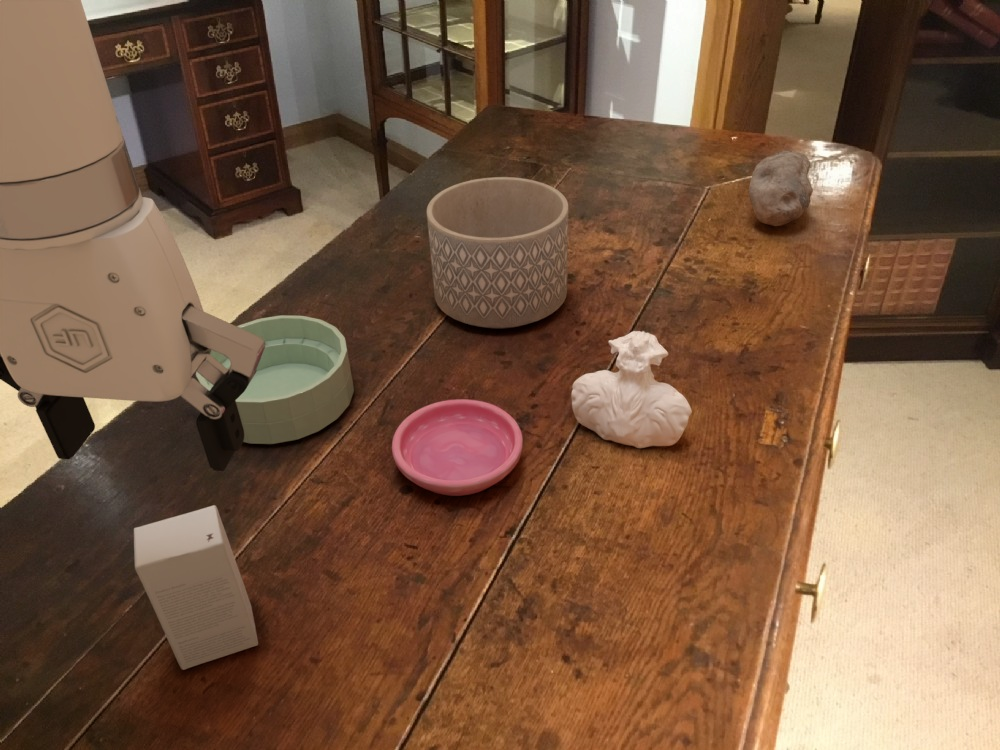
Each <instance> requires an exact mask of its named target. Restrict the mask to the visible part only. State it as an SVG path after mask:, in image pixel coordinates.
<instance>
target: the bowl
mask: <svg viewBox="0 0 1000 750" xmlns="http://www.w3.org/2000/svg"><path fill="white" fill-rule="evenodd" d="M236 326H237V327H239V328H241V329H244V330H246V331H248V332H250V333H252V334H255V335H257V336H259V337H261V338H262V339H263V340H264V342H265V348H264V351H263V354H262V356H261V359H260V362H259V364H258V366H257V369H256V373H255V375H254V377H253V378H252V380H251V381H250V383H249V385H248V386H247V388H246V390H245V391H244V392H243V393H242V394H241V395H240V396H239V397H238V398H237V399H236V400H235V401H236V404H237V408H238V411H239V415H240V418H241V422H242V426H243V429H244V441H243V443H245V444H246V443H247V444H253V445H254V444H256V445H275V444H280V443H281V444H282V443H286V442H292V441H296V440H300V439H302V438H305V437H308V436H310V435H312V434H313V435H314V434H315V433H318V432H320V431H322V430H323V429H324V428H327V426H329V425H331V424H332V423H333V422H334V421H336V420H337V419H339V418H340V416H341V415H342V414H343V413H344V412H345V411H346V410H347V408H348V407H349V406H350V405H351V401H352V398H353V395H354V392H355V387H354V382H353V375H352V370H351V364H350V359H349V353H348V347H347V340H346V338H345V336H344V335H343V334H342V332H341V331H340V330H339V329H338V328H337V327H336V326H334V325H333V324H330V323H329V322H327V321H325V320H323V319H320V318H315V317H310V316H306V315H289V314H288V315H285V314H284V315H283V314H282V315H275V316H274V315H273V316H269V317H262V318H261V317H260V318H257V319H254V320H251V321H247V322H245V323H242V324H239V325H236ZM210 355H211V356H212V357H214V358H215V359H216V360H217V361H218V362H220V363H221V364H222V365H223V366H224V367H226V368H227V369H228V370H229V369H230V366H231V362H230V360H229V359H228V358H227V357H226V356H224V355H222V354H220V353H218V352H216V351H213V350H211V353H210ZM195 377H196V380H197V381H198V382H199V383H200V384H202V385H203V386H204V387H205V388H207V389H208V390H209V391H210V390H211V388H212V387H213V386H214V385H212V384H211V383H210V382H209V381H208V380H206V379H205V378H204V377H203V376H201V375H200V374H199V373H198V372H195Z"/></svg>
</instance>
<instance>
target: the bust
mask: <svg viewBox="0 0 1000 750" xmlns="http://www.w3.org/2000/svg"><path fill="white" fill-rule="evenodd" d="M607 344H608V345H609V347H611V349H610V354H612V355H613V354H615V353H618V356H617V357H616V361H615V367H617V368H618V371H616V372H613V371H611V370H608V369H602V370H598V371H594V372H589V373H585V374H583V375H581V376H580V377H578V378H577V379H576V380H575V381H574V382H573V383H572V386H571V387H572V390H571V393H570V395H571V396H570V398H571V408H572V412H573V415H574V417H575V419H576V421H577V422H578V423H579V424H580V425H582V426H583V427H585V428H587V429H589V430H591V431H592V432H594V433H596V434H597V435H598V436H599V437H600V438H601V439H602V440H605V441H611V442H614V443H618V444H622V445H625V446H632V447H634V448H637V449H644V448H649V447H670V446H673V445H675V444H676V443H678V441H679V440H680V438H681V437H682V436H683V434H684V431H685V430H686V428H687V426H688V424H689V419H690V416H691V415H692V413H693V411H692V407H691V405H690V403H689V401H688V399H687V398H686V397H685V396H684V395H683V394H682V393H681V392H680V391H678V390H677V389H676V388H675V387H674V386H672V385H671V384H669V383H667V382H661V381H657V380H656V379H655V374H654V373H653V371H652V367H651V365H655V366H657V367H659V366H661V363H662V360H663V359H665V358H667V357H668V356H669V352H668V351H667V349H665V347H664V346H663V345H661V343H659V341H658V338H657V336H656V335H654V334H652V333H650V332H645V330H642V331H640V330H633V331H631V332H629V333H627V334H626V335H624V336H619V337H617V338H615V339H610V340H608V342H607Z"/></svg>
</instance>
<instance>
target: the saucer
mask: <svg viewBox="0 0 1000 750" xmlns="http://www.w3.org/2000/svg"><path fill="white" fill-rule="evenodd" d="M523 443H524V439H523V433H522V430H521V428H520V426H519V424H518V423H517V421H516V420H515V419H514V417H512V416H511V415H510V414H509V413H508V412H506V411H505V410H503V409H502V408H500V407H499V406H498V405H494V404H492V403H489V402H485V401H481V400H477V399H466V398H465V399H464V398H463V399H462V398H460V399H447V400H441V401H437V402H433V403H431V404H428V405H425V406H423V407H420V408H419V409H417V410H416V411H413V412H412V413H411V414H409V415H408V416H407V417H406V418H405V419H404V420H402V422H401V423H400V424H399V425H398V427H397V428H396V430H395V432H394V435H393V437H392V443H391V453H392V458H393V461H394V464H395V466H396V468H397V469H398V470H399V471H400V473H401V474H402V475H403V476H404V477H405V478H406V479H408V480H409V481H411V482H412V483H413V484H415V485H417V486H418V487H420V488H423V489H424V490H427V491H430V492H432V493H435V494H438V495H443V496H450V497H460V496H461V497H463V496H468V495H469V496H470V495H474V494H477V493H480V492H482V491H485V490H487V489H489V488H490V487H492V486H494V485H496V484H498V483H499V482H500V481H502V480H503V479H505V477H507V475H509V474H510V473H511V472H512V471H513V470H514V468H515V467H516V466H517V464H518V463H519V461H520V458H521V456H522V453H523V445H524V444H523Z"/></svg>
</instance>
